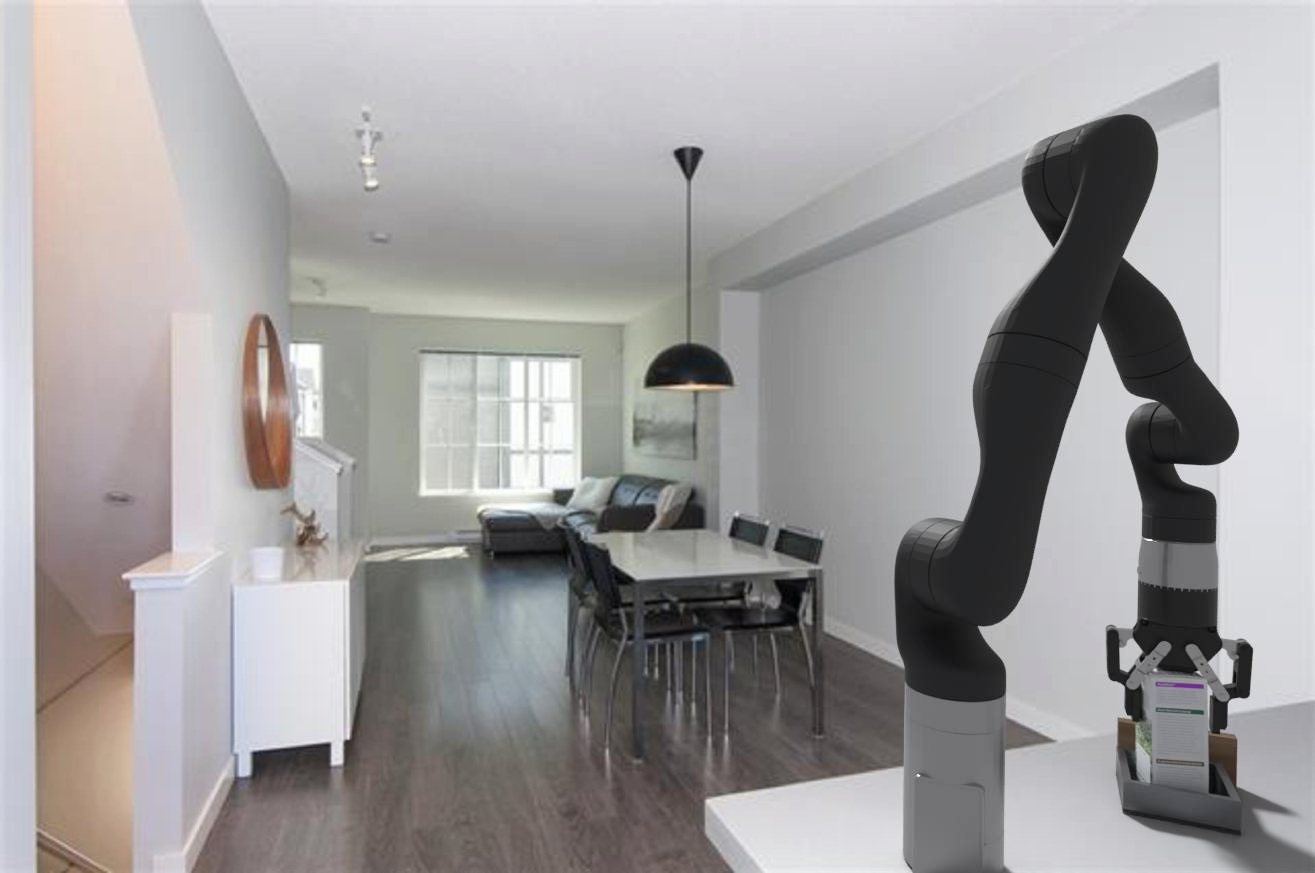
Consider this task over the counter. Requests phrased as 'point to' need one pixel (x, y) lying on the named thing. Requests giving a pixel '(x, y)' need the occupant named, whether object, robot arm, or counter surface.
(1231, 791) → the keeper pocket
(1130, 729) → the door edge slab
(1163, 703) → the syrup box
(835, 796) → the counter surface
